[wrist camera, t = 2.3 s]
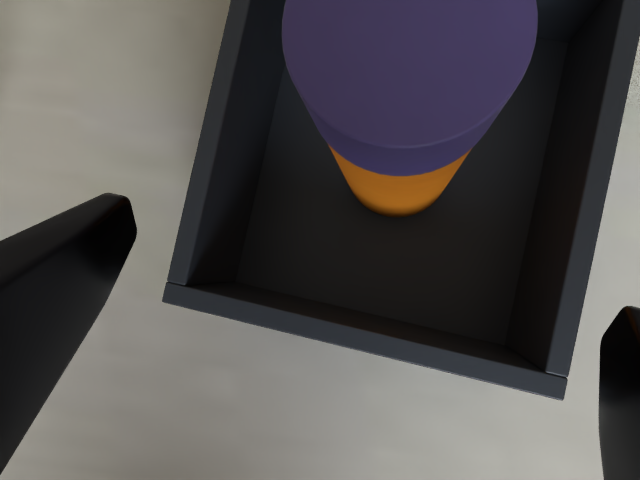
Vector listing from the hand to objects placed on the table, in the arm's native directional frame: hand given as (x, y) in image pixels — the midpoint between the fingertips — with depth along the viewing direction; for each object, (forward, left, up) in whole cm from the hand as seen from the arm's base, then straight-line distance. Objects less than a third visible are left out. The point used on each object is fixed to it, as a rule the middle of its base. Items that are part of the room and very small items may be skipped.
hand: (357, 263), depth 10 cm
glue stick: (+4, +1, -10) cm, 11 cm away
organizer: (+4, +1, -10) cm, 11 cm away
